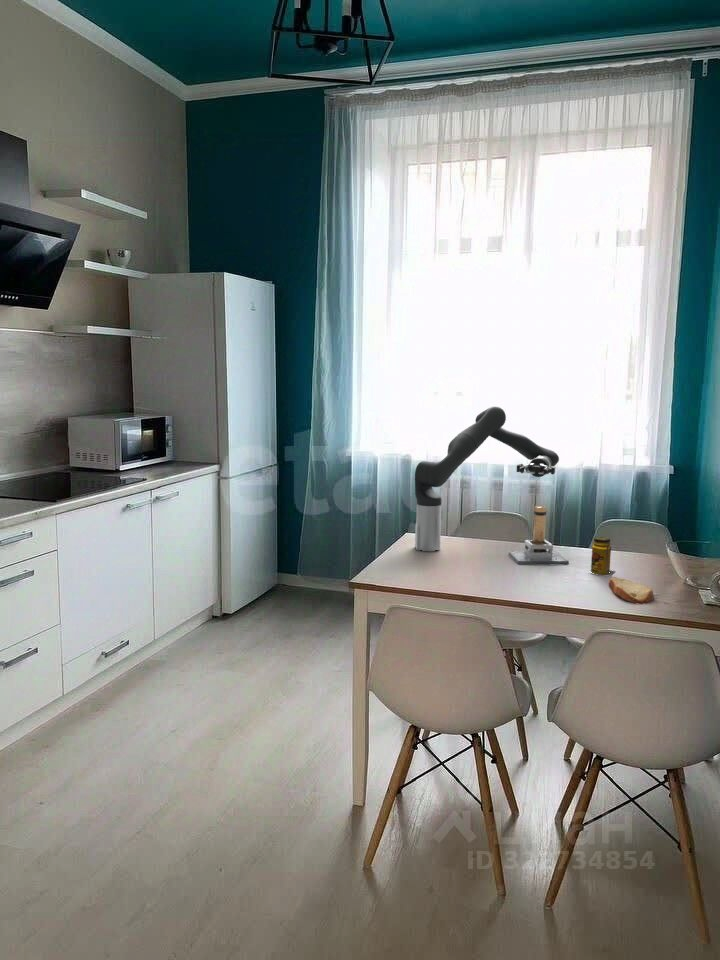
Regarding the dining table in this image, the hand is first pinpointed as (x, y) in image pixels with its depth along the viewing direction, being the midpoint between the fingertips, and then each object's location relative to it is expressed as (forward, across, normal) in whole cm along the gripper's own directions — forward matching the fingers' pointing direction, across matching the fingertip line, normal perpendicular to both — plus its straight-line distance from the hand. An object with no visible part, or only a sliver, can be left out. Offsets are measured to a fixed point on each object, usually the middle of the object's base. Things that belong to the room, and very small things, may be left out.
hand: (532, 471), depth 278 cm
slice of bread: (+45, +38, +31) cm, 66 cm away
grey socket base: (+16, +6, +30) cm, 34 cm away
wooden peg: (+16, +6, +29) cm, 33 cm away
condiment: (+24, +28, +30) cm, 48 cm away
